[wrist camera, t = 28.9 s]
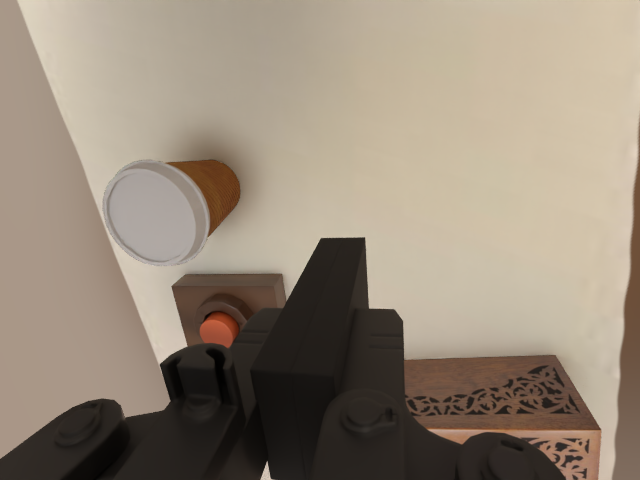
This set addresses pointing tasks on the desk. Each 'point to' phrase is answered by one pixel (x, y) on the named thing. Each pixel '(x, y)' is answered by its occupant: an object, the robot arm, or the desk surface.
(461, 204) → the desk surface
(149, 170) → the disposable coffee cup
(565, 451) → the tissue box cover
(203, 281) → the console
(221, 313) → the button
